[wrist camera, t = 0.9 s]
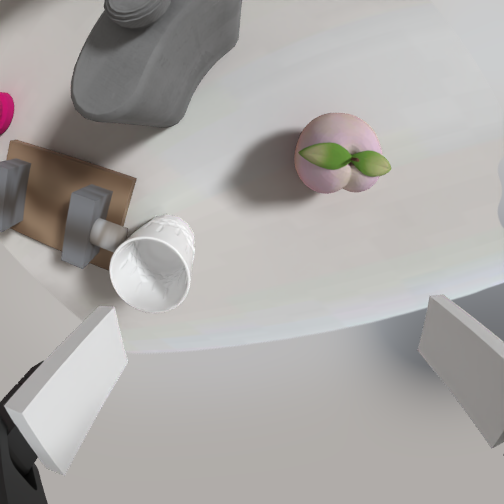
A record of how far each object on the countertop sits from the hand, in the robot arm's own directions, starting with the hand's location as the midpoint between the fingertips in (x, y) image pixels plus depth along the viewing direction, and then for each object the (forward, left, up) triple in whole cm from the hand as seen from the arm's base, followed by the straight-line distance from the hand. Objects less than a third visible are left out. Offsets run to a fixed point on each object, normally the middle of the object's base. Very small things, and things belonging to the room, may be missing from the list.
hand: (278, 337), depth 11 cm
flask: (-12, -12, -25) cm, 30 cm away
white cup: (+8, -7, -25) cm, 27 cm away
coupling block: (+8, -23, -25) cm, 35 cm away
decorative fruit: (-9, +6, -25) cm, 27 cm away
